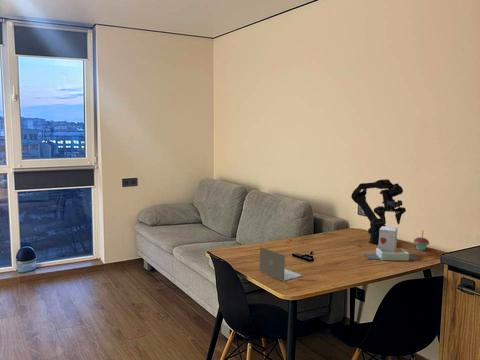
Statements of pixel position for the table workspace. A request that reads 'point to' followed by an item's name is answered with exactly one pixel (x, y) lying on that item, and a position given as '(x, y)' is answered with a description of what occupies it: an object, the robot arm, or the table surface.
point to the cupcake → (421, 243)
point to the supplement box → (387, 239)
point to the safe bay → (392, 256)
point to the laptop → (275, 265)
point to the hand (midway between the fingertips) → (391, 224)
